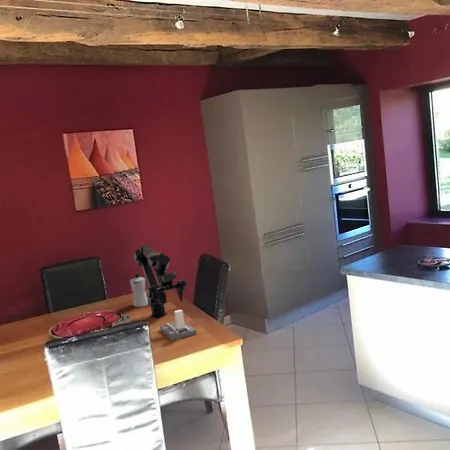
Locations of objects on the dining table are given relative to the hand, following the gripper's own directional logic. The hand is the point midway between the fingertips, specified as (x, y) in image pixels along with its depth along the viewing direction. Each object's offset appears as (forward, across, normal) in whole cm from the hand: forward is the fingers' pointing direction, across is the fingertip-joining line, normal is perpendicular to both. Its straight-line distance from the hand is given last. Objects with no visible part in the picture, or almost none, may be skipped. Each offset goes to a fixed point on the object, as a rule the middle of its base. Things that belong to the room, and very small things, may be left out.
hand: (172, 303), depth 235 cm
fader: (+12, 0, +3) cm, 13 cm away
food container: (+6, -23, +13) cm, 27 cm away
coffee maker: (-28, -2, +46) cm, 54 cm away
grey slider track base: (+11, 0, +7) cm, 13 cm away
